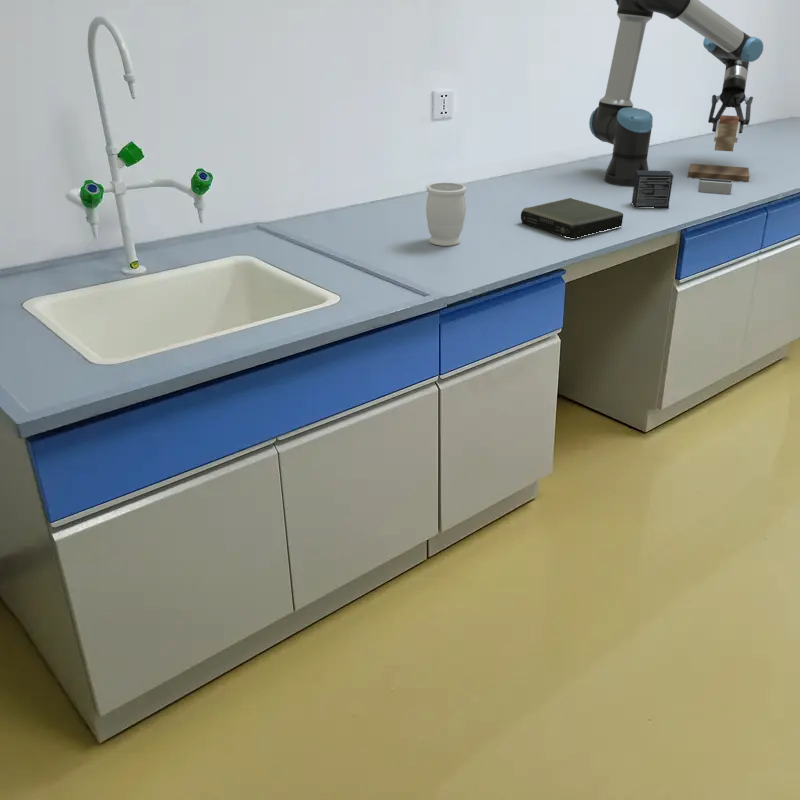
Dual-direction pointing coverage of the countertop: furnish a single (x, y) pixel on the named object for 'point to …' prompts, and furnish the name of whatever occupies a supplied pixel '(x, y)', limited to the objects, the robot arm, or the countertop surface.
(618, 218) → the network switch
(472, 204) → the countertop surface
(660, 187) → the small box
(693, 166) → the walnut board
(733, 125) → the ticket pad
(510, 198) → the countertop surface
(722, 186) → the frame
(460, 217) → the jar
